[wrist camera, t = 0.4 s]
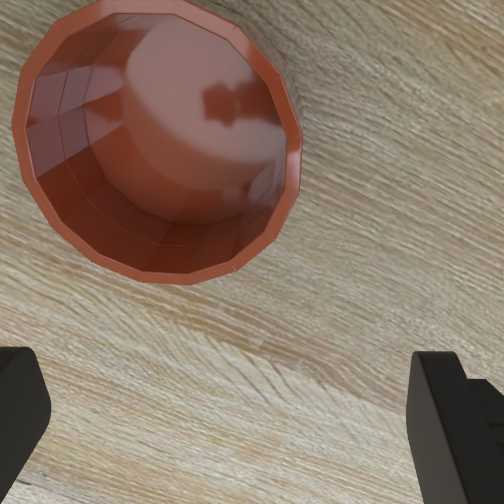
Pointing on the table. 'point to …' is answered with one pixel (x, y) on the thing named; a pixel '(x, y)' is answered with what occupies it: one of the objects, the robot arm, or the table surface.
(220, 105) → the bowl
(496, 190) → the table surface
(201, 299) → the table surface
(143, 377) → the table surface
